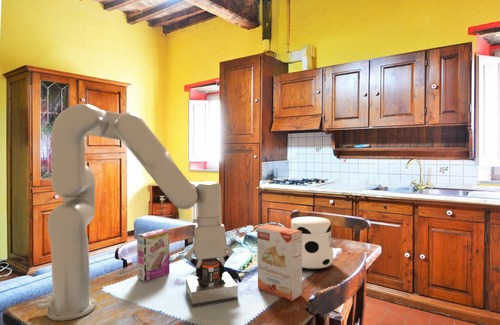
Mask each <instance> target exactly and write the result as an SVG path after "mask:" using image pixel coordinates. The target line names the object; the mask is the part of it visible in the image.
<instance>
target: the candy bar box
mask: <svg viewBox="0 0 500 325" xmlns="http://www.w3.org/2000/svg"><path fill="white" fill-rule="evenodd" d="M136 256H137V257H136V258H137V259H136V261H137V262H136V263H137V265H136V266H137V267H136V268H137V270H136V271H137V272H136V273H137V279H136V280H138V281H141V282H142V283H147V282H151V281H152V280H155V279H158V278H160V277H162V276H166V275H169V274H170V230H167V229H163V228H160V229H157V230H152V231H148V232H143V233H138V234H136Z"/></svg>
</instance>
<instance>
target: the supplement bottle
mask: <svg viewBox="0 0 500 325" xmlns="http://www.w3.org/2000/svg"><path fill="white" fill-rule="evenodd" d="M201 268H202V280H201V288H205V287H211V286H218V285H219V259H218V258H213V259H205V260H202V263H201Z"/></svg>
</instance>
